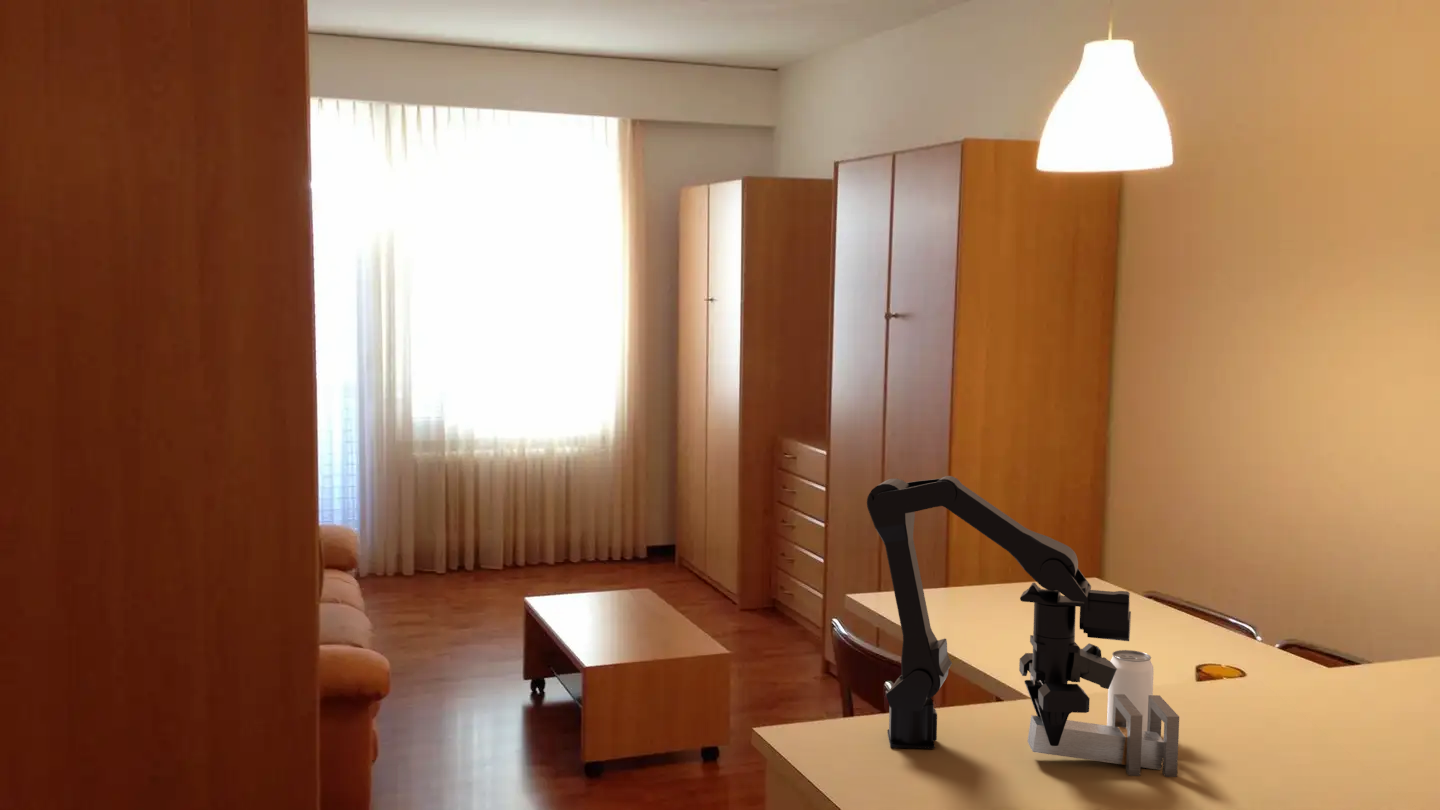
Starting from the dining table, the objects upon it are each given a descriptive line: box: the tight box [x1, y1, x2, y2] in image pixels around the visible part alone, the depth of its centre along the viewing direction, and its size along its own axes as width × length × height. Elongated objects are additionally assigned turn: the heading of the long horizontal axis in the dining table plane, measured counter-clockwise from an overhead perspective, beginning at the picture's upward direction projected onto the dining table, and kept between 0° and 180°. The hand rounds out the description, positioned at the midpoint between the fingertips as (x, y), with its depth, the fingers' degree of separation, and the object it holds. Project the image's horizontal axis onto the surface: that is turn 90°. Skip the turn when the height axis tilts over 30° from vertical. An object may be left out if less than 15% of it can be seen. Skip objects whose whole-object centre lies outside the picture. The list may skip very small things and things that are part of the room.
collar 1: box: [1113, 694, 1143, 777], centre depth 169 cm, size 2×9×9 cm, turn 176°
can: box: [1106, 649, 1154, 731], centre depth 182 cm, size 6×6×12 cm
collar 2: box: [1147, 694, 1180, 778], centre depth 169 cm, size 2×9×9 cm, turn 176°
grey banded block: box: [1027, 714, 1164, 771], centre depth 170 cm, size 18×4×4 cm, turn 86°
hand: (1050, 739), depth 170 cm, fingers closed on grey banded block, 4 cm apart
